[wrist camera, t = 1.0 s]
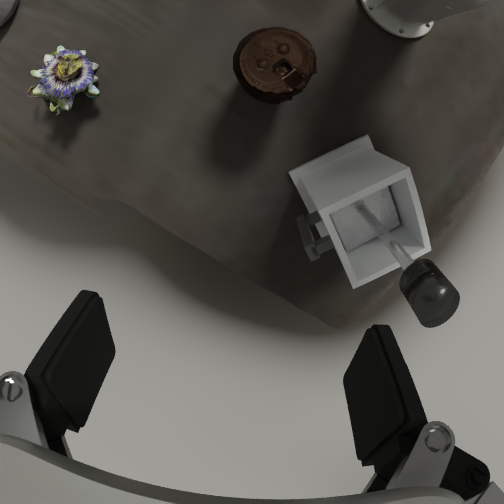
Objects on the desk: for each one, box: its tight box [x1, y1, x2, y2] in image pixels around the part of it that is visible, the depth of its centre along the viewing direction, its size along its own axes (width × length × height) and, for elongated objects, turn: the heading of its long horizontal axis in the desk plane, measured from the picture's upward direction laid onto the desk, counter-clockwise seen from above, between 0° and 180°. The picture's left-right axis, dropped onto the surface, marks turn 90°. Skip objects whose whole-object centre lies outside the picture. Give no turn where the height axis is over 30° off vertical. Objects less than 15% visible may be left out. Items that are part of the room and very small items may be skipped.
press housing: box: [289, 135, 431, 289], centre depth 36 cm, size 15×13×15 cm
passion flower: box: [26, 46, 99, 117], centre depth 31 cm, size 11×11×12 cm
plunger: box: [330, 186, 460, 328], centre depth 26 cm, size 8×8×20 cm
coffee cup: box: [233, 27, 317, 104], centre depth 29 cm, size 9×8×13 cm
